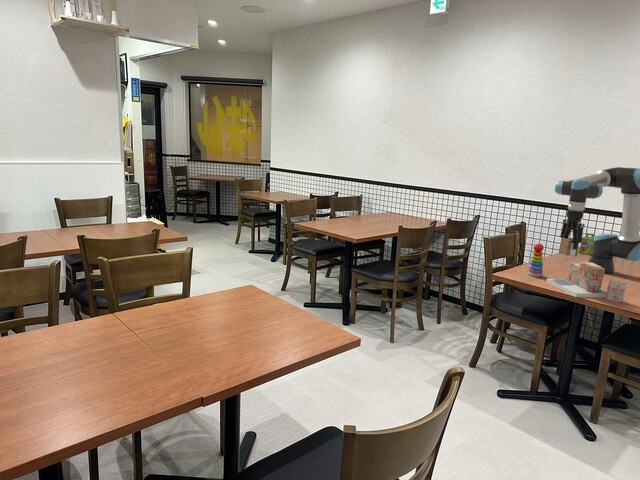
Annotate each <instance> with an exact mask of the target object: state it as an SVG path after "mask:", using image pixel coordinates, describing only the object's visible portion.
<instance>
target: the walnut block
mask: <svg viewBox="0 0 640 480" xmlns="http://www.w3.org/2000/svg"><path fill="white" fill-rule="evenodd" d="M575 241H576V240H575ZM572 242H573V237H572V238H571V237H568V238H561V237H560V243H559V244H560V245H559V249H558V253H559V254H561V255H565V256H570V257H571V256H573V257H574V256H575V257H576V256H578V253H579V248H580V243H578V245H577V249H576V253H575V255H569V254H570V248H571V243H572Z"/></svg>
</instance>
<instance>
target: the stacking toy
mask: <svg viewBox="0 0 640 480" xmlns="http://www.w3.org/2000/svg"><path fill="white" fill-rule="evenodd" d="M533 250H534V251H533V252H532V255H531V258H530V260H531V261H530V262H529V263H530V264H529V265H528V266H529V268H528V269H527V270H528V271H527V275H528V276H531V277H536V278H541V277H543V275H544V274H543V272H544V270H543V268H544V266H543V265H544V263H543V261H544V260H543V258H544V257H543V251H544V245H543V244H542V243H536V244H534V245H533Z"/></svg>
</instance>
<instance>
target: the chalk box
mask: <svg viewBox="0 0 640 480" xmlns="http://www.w3.org/2000/svg"><path fill="white" fill-rule="evenodd" d="M594 239H595V234H594V233H589V232H587V233H586V235H585V236H583V235H582V242H581V243H579V248H578V253H579V254H582V255H588V256H591V254H592V249H593V244H594Z"/></svg>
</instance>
